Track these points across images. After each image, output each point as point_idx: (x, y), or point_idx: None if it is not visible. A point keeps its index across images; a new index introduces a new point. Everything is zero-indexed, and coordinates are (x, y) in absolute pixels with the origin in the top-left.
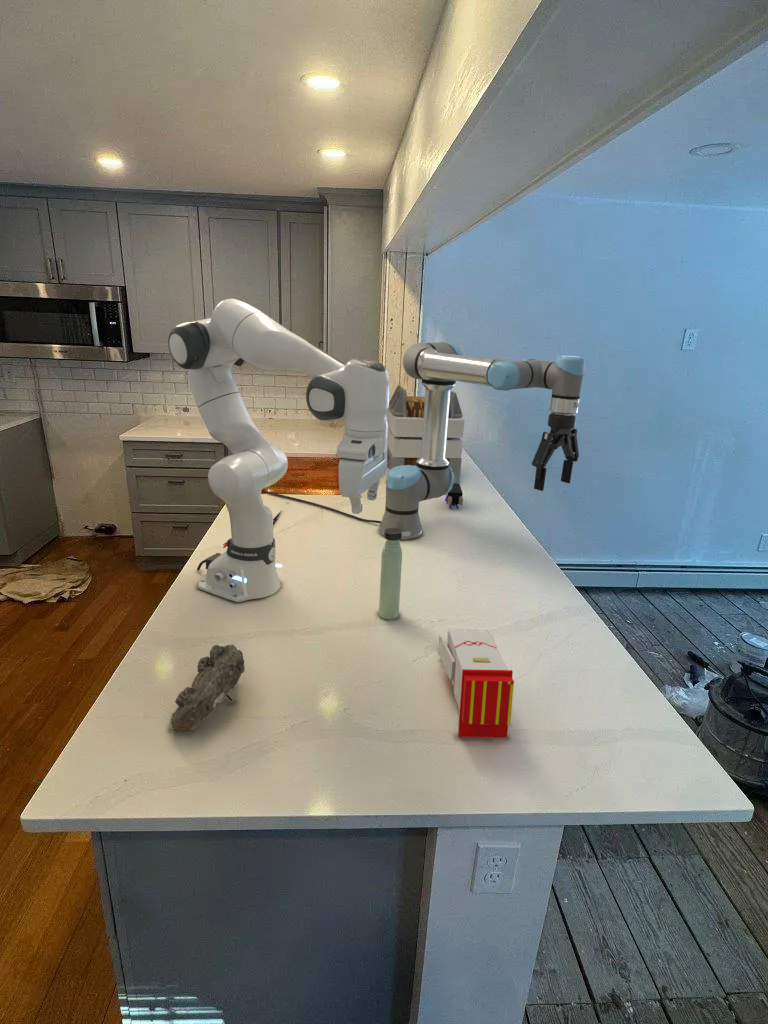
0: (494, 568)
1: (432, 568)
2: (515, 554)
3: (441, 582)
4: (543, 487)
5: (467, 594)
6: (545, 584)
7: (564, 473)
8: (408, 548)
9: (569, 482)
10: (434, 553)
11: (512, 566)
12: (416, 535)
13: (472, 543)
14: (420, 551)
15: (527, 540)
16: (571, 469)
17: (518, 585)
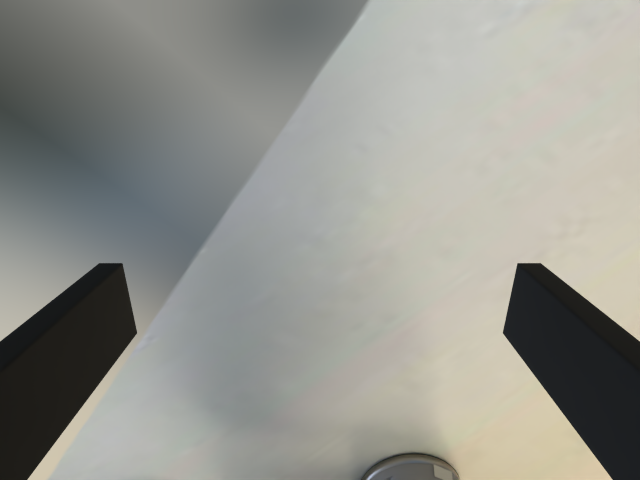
0: (401, 249)
1: None
2: (274, 271)
3: (578, 274)
4: (539, 276)
5: (594, 193)
6: (375, 96)
7: (89, 362)
8: (469, 428)
9: (104, 266)
10: (445, 383)
11: (349, 229)
12: (411, 460)
13: (316, 373)
14: (462, 406)
15: (163, 309)
16: (12, 344)
17: (444, 143)
